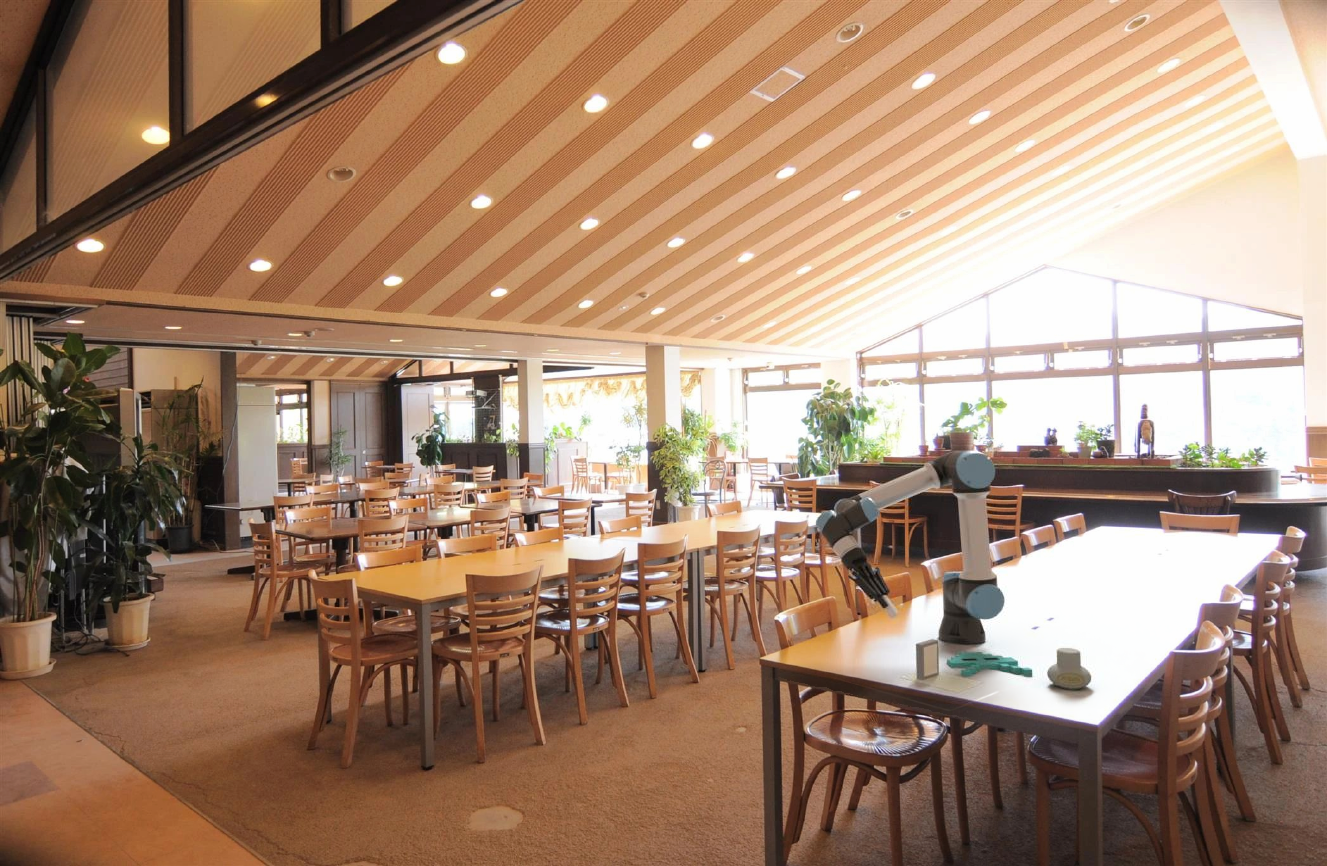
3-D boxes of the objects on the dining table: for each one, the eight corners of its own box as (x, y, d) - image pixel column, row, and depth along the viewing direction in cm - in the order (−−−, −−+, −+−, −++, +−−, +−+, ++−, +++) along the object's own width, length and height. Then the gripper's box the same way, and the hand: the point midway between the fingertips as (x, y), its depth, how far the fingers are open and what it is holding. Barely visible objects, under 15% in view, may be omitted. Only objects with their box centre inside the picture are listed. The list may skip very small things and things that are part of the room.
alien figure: (1032, 677, 238) (1001, 658, 258) (1032, 669, 238) (1001, 651, 258) (964, 679, 237) (938, 660, 257) (964, 671, 237) (938, 653, 257)
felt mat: (901, 678, 237) (901, 677, 237) (927, 670, 245) (927, 668, 245) (956, 693, 223) (956, 692, 223) (983, 684, 231) (983, 682, 231)
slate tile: (916, 678, 236) (915, 643, 236) (932, 673, 241) (932, 639, 241) (922, 680, 234) (922, 645, 234) (939, 674, 239) (938, 640, 239)
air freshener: (1048, 688, 225) (1048, 652, 225) (1046, 680, 233) (1045, 645, 233) (1093, 692, 221) (1092, 655, 221) (1089, 683, 229) (1088, 648, 229)
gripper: (856, 559, 264) (900, 619, 251) (830, 563, 256) (874, 626, 243) (870, 544, 260) (915, 605, 247) (843, 548, 252) (888, 611, 239)
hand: (895, 615), depth 245 cm, fingers closed
